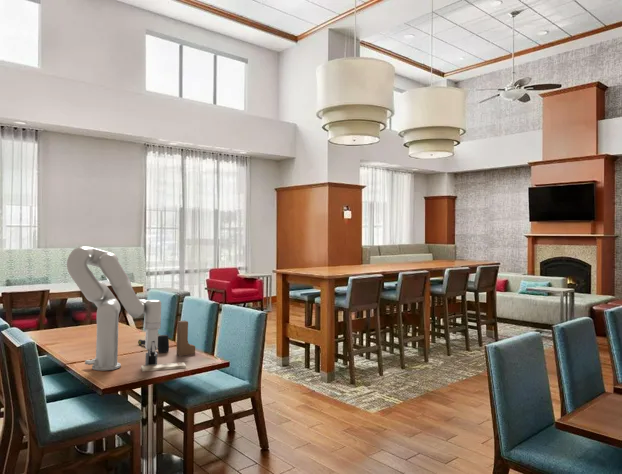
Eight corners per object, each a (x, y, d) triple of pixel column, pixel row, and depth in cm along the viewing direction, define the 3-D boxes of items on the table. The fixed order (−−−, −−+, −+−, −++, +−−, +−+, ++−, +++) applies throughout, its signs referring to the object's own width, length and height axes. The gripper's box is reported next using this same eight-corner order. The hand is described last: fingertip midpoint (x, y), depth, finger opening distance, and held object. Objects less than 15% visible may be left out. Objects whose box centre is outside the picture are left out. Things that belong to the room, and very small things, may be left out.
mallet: (134, 345, 280) (134, 328, 280) (144, 343, 285) (144, 327, 285) (161, 354, 260) (161, 336, 260) (171, 352, 265) (171, 335, 265)
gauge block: (146, 367, 234) (146, 354, 234) (145, 365, 238) (145, 352, 238) (156, 366, 236) (157, 353, 236) (155, 364, 240) (156, 352, 240)
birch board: (142, 371, 226) (142, 368, 226) (141, 368, 231) (141, 365, 231) (186, 367, 234) (186, 365, 234) (183, 364, 240) (183, 362, 240)
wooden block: (192, 352, 266) (193, 319, 266) (195, 354, 262) (196, 320, 263) (176, 354, 261) (177, 320, 261) (179, 356, 257) (180, 322, 257)
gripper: (142, 322, 243) (141, 359, 243) (146, 328, 228) (145, 368, 228) (158, 322, 246) (157, 358, 246) (162, 328, 231) (161, 366, 231)
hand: (151, 362), depth 237 cm, fingers closed on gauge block, 4 cm apart
